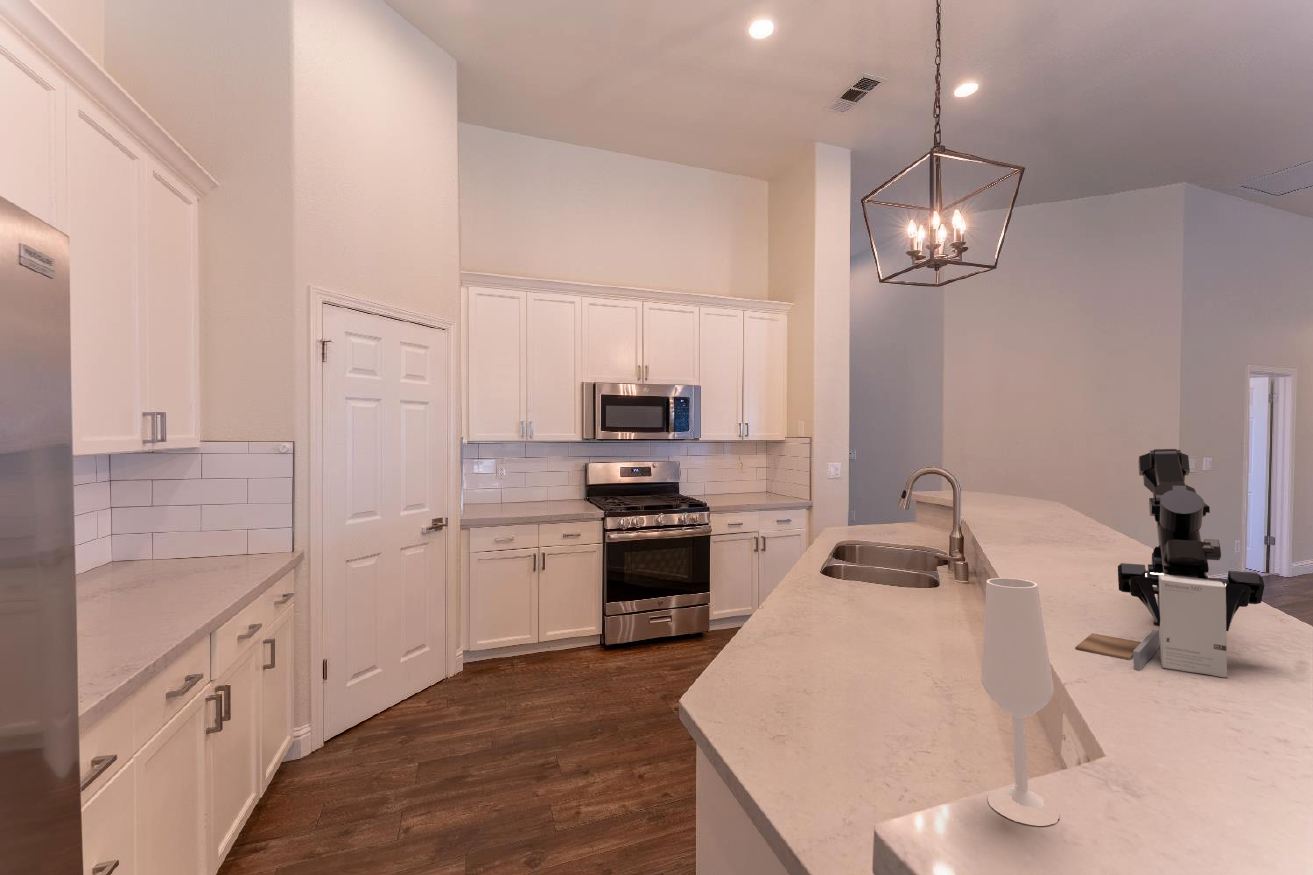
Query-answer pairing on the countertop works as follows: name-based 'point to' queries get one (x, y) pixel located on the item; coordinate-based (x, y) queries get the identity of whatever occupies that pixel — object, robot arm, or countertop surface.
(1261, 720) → the countertop surface
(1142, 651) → the low wall
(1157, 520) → the robot arm
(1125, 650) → the walnut board
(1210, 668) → the skincare box
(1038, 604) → the champagne flute
